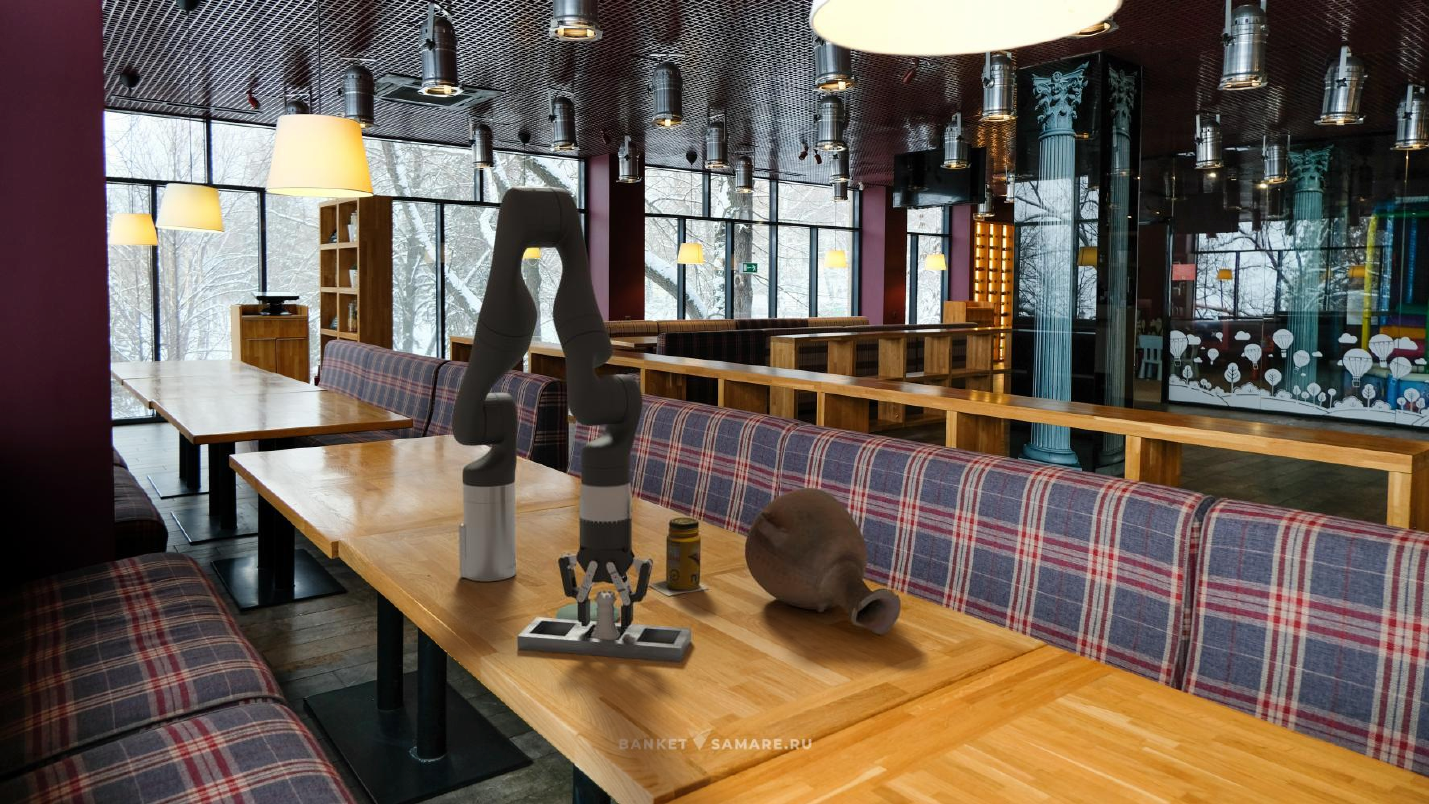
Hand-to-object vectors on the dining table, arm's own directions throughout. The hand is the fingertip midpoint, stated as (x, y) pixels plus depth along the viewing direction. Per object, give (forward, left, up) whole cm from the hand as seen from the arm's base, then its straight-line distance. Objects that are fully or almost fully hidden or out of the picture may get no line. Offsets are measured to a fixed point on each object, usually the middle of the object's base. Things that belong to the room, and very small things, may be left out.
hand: (605, 625), depth 136 cm
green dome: (-6, +11, -3) cm, 13 cm away
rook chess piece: (0, 0, -3) cm, 3 cm away
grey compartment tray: (0, 0, -3) cm, 3 cm away
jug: (+31, +20, -3) cm, 37 cm away
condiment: (+5, +29, -3) cm, 30 cm away
